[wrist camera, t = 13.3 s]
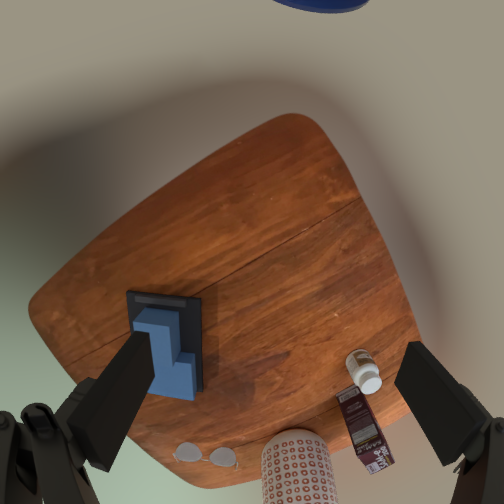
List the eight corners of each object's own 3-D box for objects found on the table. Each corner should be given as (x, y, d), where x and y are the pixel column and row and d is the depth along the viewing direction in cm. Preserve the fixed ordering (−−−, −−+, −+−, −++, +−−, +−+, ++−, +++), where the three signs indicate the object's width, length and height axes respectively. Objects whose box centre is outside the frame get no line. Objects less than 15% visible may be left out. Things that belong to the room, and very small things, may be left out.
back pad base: (128, 290, 40) (117, 299, 37) (201, 298, 40) (196, 308, 36) (140, 379, 44) (133, 391, 41) (203, 389, 44) (199, 403, 41)
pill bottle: (372, 350, 42) (389, 376, 34) (362, 370, 43) (376, 397, 35) (351, 346, 42) (366, 373, 34) (340, 367, 43) (353, 395, 35)
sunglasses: (239, 448, 48) (238, 467, 43) (237, 462, 51) (236, 479, 47) (175, 440, 48) (171, 458, 43) (180, 454, 51) (176, 470, 47)
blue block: (145, 307, 40) (132, 321, 35) (178, 311, 40) (169, 326, 35) (149, 345, 42) (138, 361, 37) (180, 350, 41) (172, 367, 37)
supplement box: (370, 405, 45) (396, 463, 30) (349, 416, 46) (369, 476, 30) (357, 380, 43) (386, 443, 28) (334, 393, 44) (355, 458, 29)
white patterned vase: (317, 413, 45) (345, 539, 18) (329, 446, 48) (352, 550, 20) (252, 429, 46) (248, 554, 19) (271, 461, 49) (275, 564, 22)
